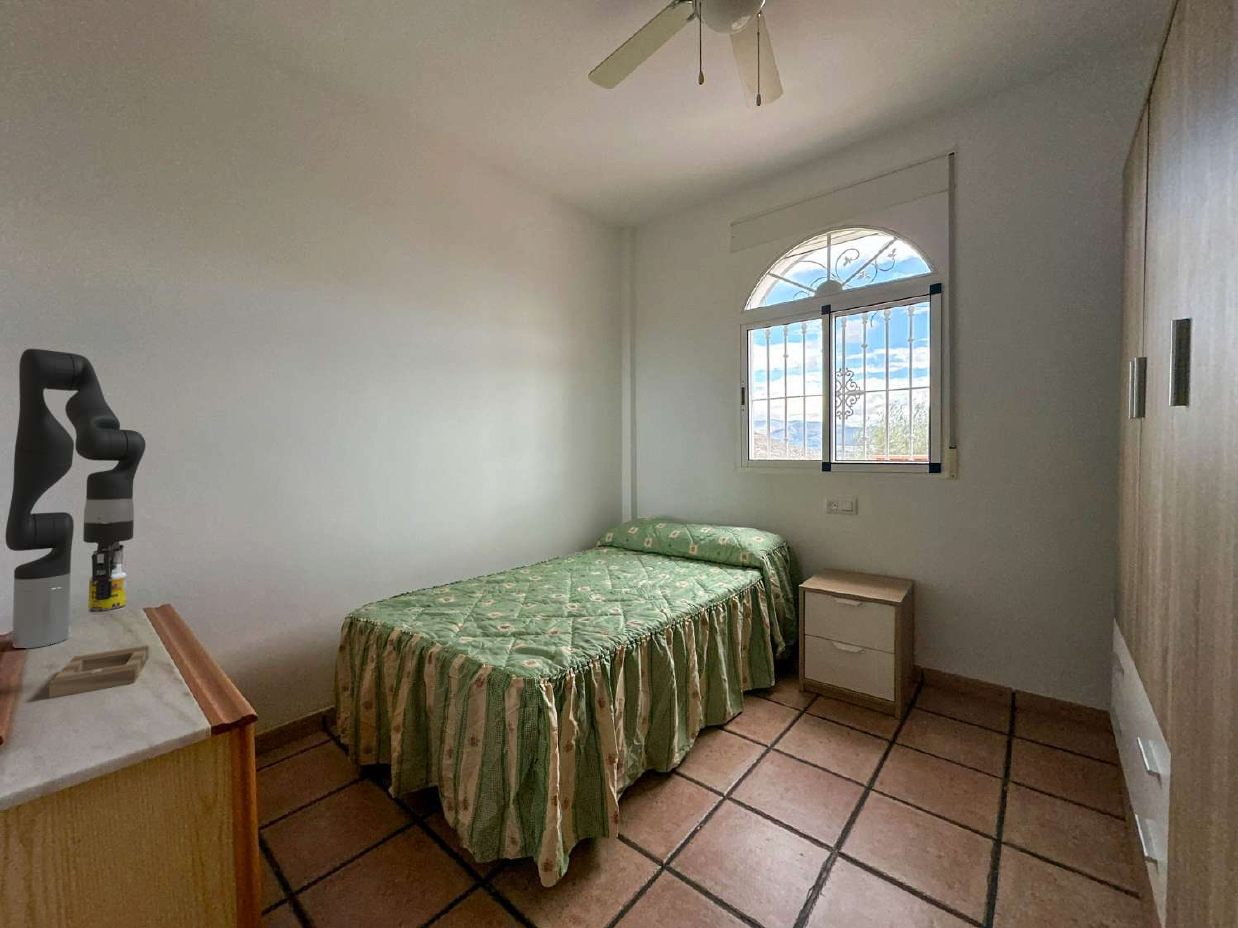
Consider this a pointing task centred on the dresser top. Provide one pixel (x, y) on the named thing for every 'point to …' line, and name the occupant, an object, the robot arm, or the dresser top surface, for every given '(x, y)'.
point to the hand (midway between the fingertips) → (107, 595)
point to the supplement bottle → (117, 596)
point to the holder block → (99, 671)
